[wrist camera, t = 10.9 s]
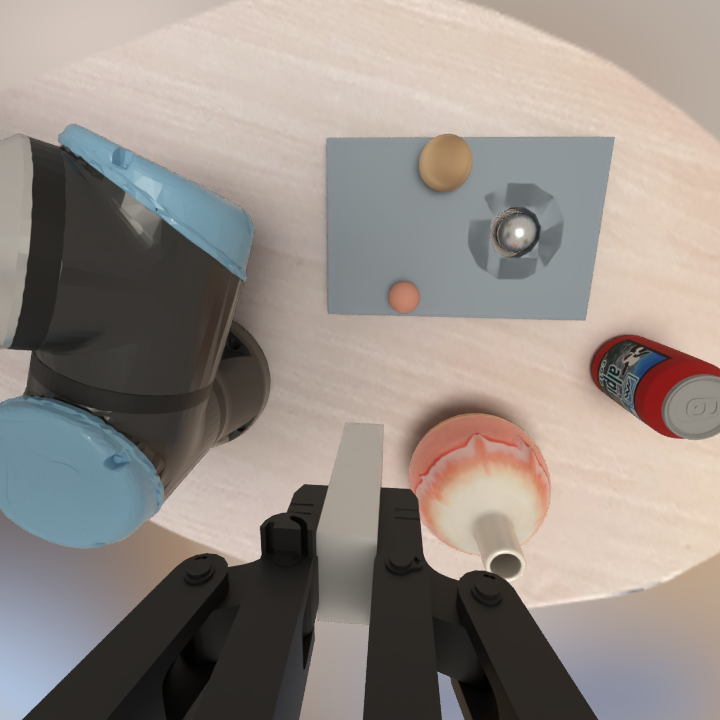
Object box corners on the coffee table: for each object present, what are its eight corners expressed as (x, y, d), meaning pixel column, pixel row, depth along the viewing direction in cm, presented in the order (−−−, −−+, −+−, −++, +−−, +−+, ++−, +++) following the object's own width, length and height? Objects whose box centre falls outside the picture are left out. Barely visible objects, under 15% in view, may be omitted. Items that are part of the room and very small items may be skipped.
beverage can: (590, 335, 44) (659, 369, 32) (660, 331, 43) (756, 364, 32) (586, 396, 46) (650, 449, 34) (653, 393, 45) (741, 446, 34)
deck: (331, 309, 45) (328, 313, 43) (330, 143, 41) (326, 137, 38) (574, 316, 43) (585, 320, 41) (601, 143, 39) (614, 136, 37)
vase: (497, 520, 51) (548, 662, 34) (389, 481, 50) (386, 604, 33) (551, 422, 47) (639, 526, 30) (434, 378, 46) (457, 458, 30)
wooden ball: (416, 194, 39) (418, 189, 35) (418, 140, 38) (421, 128, 34) (465, 194, 39) (474, 189, 35) (470, 140, 38) (479, 127, 33)
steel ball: (494, 251, 40) (534, 252, 38) (497, 212, 39) (539, 211, 37) (496, 251, 43) (534, 251, 42) (500, 214, 42) (538, 213, 41)
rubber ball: (388, 310, 42) (387, 315, 39) (388, 279, 41) (388, 282, 39) (418, 311, 42) (420, 316, 39) (419, 280, 41) (421, 283, 38)
